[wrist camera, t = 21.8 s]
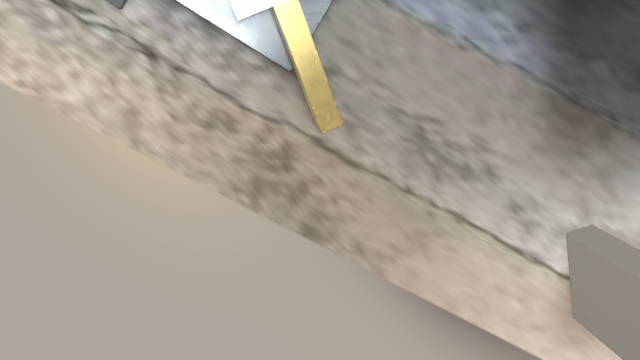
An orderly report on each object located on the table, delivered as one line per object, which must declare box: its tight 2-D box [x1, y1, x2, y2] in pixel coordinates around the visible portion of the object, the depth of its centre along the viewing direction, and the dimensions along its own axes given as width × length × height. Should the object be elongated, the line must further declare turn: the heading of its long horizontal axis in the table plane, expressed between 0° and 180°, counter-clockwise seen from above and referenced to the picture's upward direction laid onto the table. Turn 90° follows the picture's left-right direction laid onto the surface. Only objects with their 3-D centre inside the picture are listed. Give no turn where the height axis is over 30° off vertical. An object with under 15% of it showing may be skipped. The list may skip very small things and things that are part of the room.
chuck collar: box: [229, 0, 343, 133], centre depth 32 cm, size 15×6×3 cm, turn 21°
